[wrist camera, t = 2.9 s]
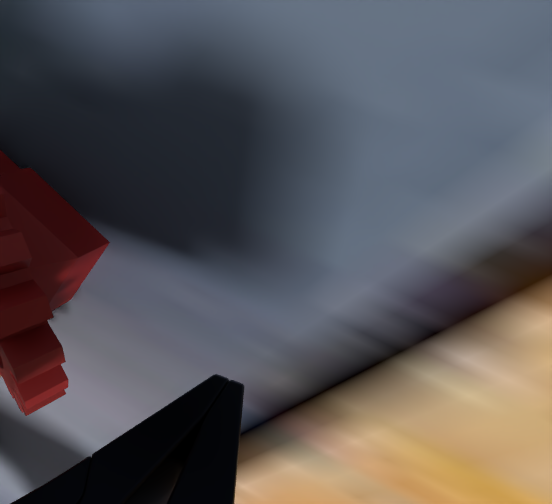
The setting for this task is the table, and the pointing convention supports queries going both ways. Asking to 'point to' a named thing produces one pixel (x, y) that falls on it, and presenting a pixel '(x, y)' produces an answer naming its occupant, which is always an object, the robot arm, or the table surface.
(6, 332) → the red cog wheel
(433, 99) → the table surface
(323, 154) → the table surface
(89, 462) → the robot arm
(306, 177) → the table surface
